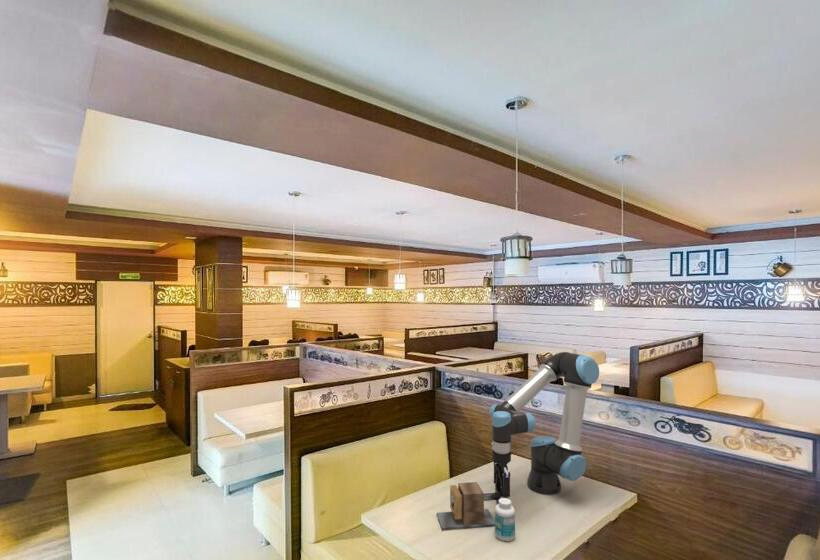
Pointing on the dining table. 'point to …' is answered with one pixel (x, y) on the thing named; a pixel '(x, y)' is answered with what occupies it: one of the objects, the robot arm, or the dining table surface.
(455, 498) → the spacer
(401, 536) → the dining table surface
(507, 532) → the pill bottle
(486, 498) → the shaft
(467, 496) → the bearing block
